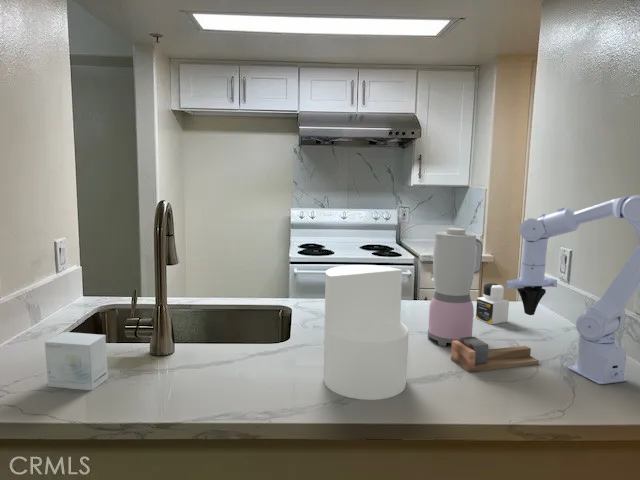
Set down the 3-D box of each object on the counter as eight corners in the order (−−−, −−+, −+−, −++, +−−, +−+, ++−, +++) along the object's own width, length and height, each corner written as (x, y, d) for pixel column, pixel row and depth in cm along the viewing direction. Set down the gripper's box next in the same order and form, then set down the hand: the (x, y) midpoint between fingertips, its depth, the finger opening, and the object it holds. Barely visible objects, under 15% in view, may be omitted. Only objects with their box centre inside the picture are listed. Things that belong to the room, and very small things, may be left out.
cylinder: (312, 369, 112) (313, 267, 108) (381, 359, 118) (385, 263, 115) (343, 405, 95) (346, 285, 91) (422, 392, 101) (428, 279, 98)
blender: (444, 350, 126) (450, 232, 121) (418, 335, 137) (423, 227, 132) (490, 343, 132) (498, 230, 127) (462, 329, 143) (469, 225, 138)
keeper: (487, 362, 114) (488, 344, 114) (472, 364, 113) (474, 345, 112) (473, 354, 120) (474, 336, 119) (459, 355, 119) (460, 337, 118)
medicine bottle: (475, 318, 154) (477, 283, 153) (491, 315, 157) (493, 281, 156) (491, 324, 148) (494, 287, 146) (508, 322, 151) (510, 286, 149)
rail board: (538, 364, 117) (540, 345, 117) (468, 372, 112) (470, 352, 111) (516, 352, 125) (518, 334, 124) (450, 359, 119) (451, 340, 119)
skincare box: (46, 387, 100) (43, 341, 99) (66, 375, 107) (63, 331, 105) (91, 391, 99) (88, 344, 97) (109, 378, 105) (106, 333, 104)
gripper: (545, 260, 128) (541, 308, 130) (499, 262, 124) (496, 311, 126) (565, 265, 121) (560, 315, 123) (517, 267, 117) (513, 319, 119)
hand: (529, 314), depth 124 cm, fingers closed
